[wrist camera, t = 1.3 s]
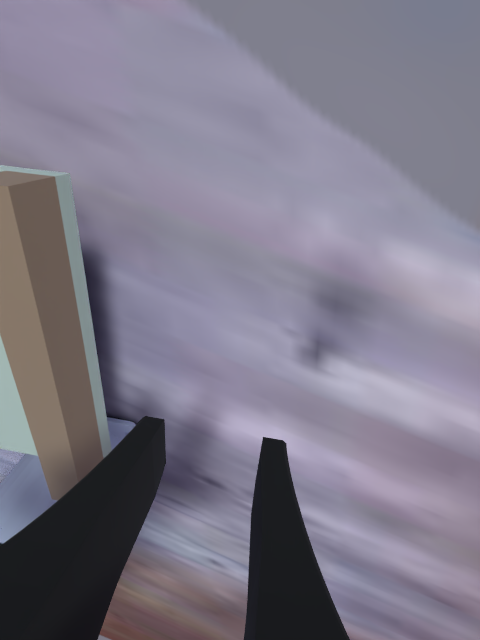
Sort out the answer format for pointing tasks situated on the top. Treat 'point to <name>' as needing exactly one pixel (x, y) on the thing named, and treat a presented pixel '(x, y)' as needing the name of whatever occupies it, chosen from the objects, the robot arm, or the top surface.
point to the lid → (47, 332)
